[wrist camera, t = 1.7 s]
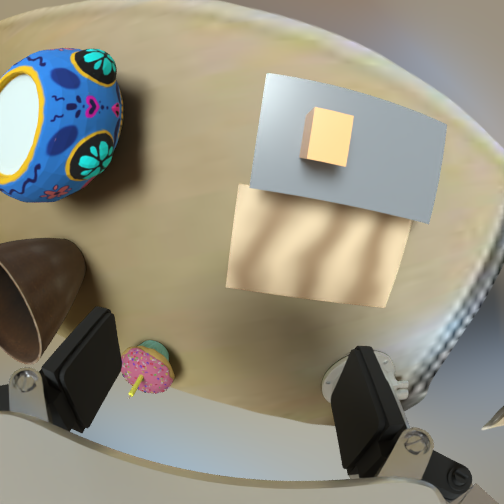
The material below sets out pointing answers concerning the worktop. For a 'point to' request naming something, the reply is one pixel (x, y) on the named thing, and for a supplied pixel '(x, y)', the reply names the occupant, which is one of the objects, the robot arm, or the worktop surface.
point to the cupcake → (147, 368)
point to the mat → (314, 248)
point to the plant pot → (36, 293)
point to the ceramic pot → (57, 122)
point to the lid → (347, 148)
